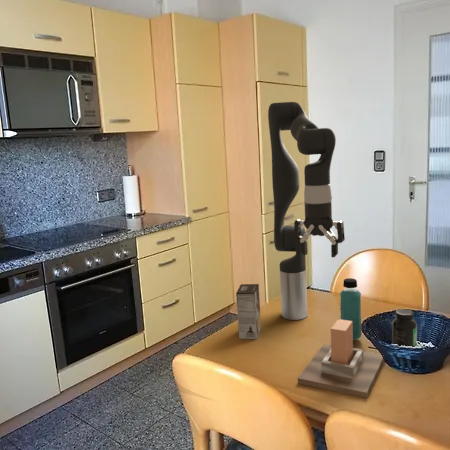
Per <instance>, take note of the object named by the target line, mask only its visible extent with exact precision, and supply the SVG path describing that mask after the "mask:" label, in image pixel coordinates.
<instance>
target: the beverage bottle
mask: <svg viewBox="0 0 450 450" xmlns="http://www.w3.org/2000/svg"><path fill="white" fill-rule="evenodd" d="M357 281H358V280H357V279H355V278H352V277H350V278H345V279H343V284H342V285H343V287H344V289H342V290H341V291H340V293H339V295H340V298H339V299H340V302H339V306H340V307H339V308H340V309H339V310H340V319H341V320H348V321H353V341H355V340H359V339H360V338H361V337H362V332H363V331H362V329H361V328H362V325H363V323H362V302H361V301H362V300H361V299H362V298H361V296H362V293H361V292H360V291H359V290H358V289H357V287H358V282H357Z"/></svg>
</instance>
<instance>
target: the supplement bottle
mask: <svg viewBox="0 0 450 450" xmlns="http://www.w3.org/2000/svg"><path fill="white" fill-rule="evenodd" d="M394 316H395V318H394V319H393V320H392V322H391V345H392V344H398V345H405V346H412V347H415V346H416V345H418V343H417V341H418V340H417V339H418V324H417V321H416V320H415V319H414V311H413V310H410V309H405V308H400V309H399V308H398V309H396V310H395V315H394Z"/></svg>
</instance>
